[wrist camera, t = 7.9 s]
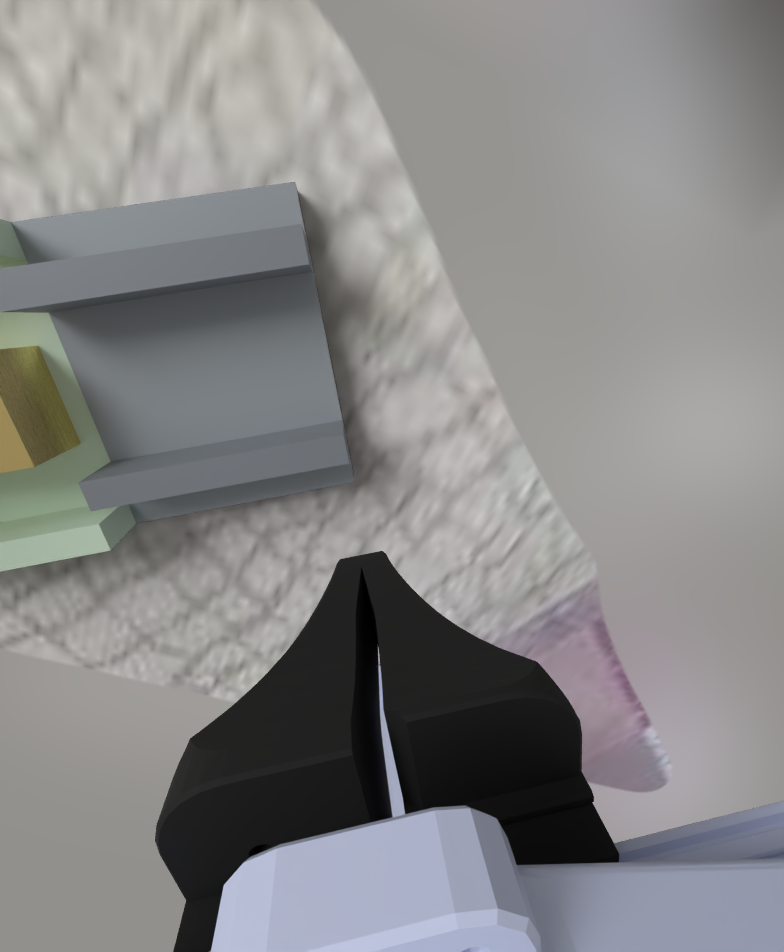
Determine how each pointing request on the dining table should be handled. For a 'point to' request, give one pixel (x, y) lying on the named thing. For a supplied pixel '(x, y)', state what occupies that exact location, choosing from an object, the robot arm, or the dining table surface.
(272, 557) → the dining table surface
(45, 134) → the dining table surface
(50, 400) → the chip
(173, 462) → the green and grey tray
